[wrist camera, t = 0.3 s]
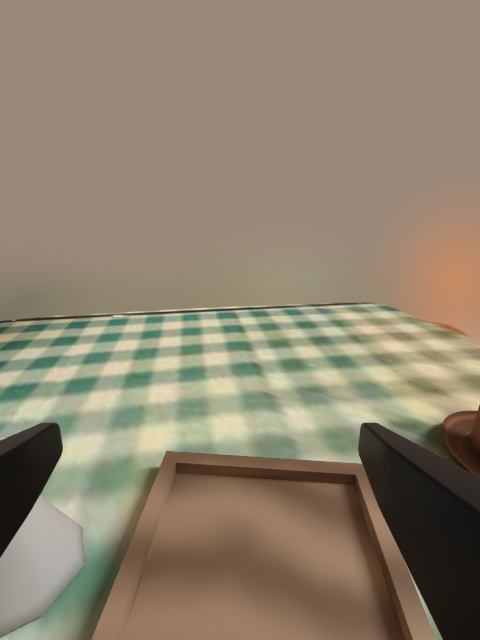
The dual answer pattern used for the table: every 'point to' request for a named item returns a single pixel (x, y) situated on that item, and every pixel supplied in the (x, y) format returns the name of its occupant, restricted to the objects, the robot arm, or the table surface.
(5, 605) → the flask
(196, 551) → the walnut tray
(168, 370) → the table surface
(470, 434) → the cup and saucer
